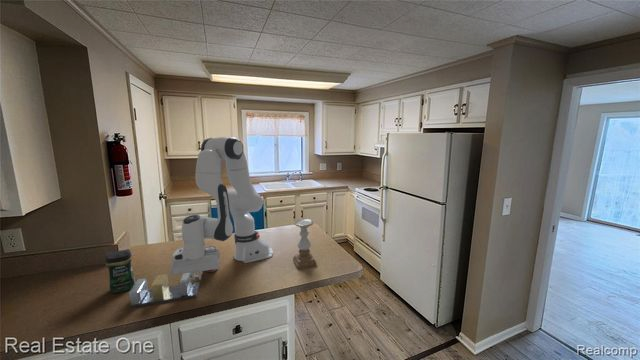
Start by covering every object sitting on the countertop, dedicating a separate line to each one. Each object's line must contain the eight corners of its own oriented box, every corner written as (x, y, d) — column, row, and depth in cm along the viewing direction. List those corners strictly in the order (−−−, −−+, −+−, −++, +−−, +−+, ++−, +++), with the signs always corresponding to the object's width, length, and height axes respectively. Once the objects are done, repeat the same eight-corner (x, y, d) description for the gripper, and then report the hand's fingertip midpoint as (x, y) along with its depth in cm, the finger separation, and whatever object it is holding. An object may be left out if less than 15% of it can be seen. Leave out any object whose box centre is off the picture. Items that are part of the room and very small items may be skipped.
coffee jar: (109, 296, 117) (102, 257, 114) (112, 286, 124) (105, 250, 120) (135, 289, 122) (129, 252, 118) (136, 281, 129) (131, 245, 125)
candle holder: (297, 269, 139) (296, 226, 135) (292, 259, 149) (291, 219, 145) (316, 265, 143) (316, 224, 138) (311, 256, 153) (310, 217, 148)
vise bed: (199, 284, 126) (198, 270, 124) (196, 297, 116) (194, 282, 115) (140, 293, 119) (137, 279, 118) (131, 307, 110) (128, 292, 108)
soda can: (205, 274, 134) (202, 252, 132) (204, 268, 141) (201, 247, 138) (219, 271, 138) (217, 249, 135) (217, 264, 144) (216, 244, 141)
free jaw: (194, 275, 131) (192, 265, 130) (187, 294, 116) (186, 283, 114) (187, 276, 130) (186, 266, 129) (180, 296, 115) (178, 284, 114)
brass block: (168, 287, 121) (167, 274, 120) (163, 298, 114) (161, 283, 112) (159, 289, 120) (157, 275, 119) (153, 300, 113) (151, 285, 111)
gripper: (220, 245, 124) (222, 272, 126) (171, 250, 118) (174, 278, 121) (218, 251, 118) (220, 279, 120) (167, 257, 112) (171, 286, 115)
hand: (197, 279), depth 120 cm, fingers closed
